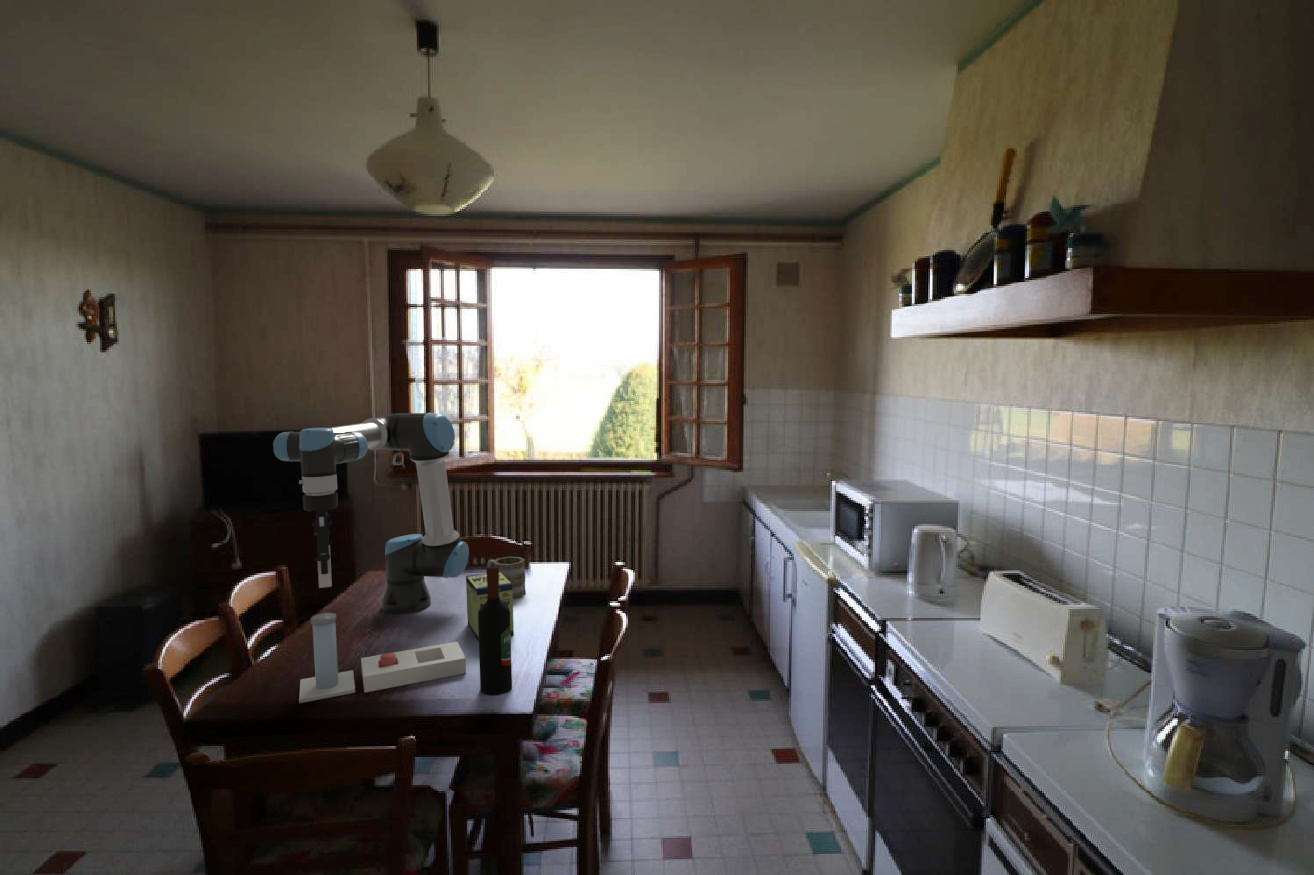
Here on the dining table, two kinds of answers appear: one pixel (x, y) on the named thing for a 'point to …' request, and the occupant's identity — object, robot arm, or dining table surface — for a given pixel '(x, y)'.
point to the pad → (312, 693)
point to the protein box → (485, 598)
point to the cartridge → (325, 650)
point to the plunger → (388, 659)
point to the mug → (512, 573)
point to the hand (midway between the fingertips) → (325, 578)
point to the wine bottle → (494, 640)
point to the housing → (413, 666)
